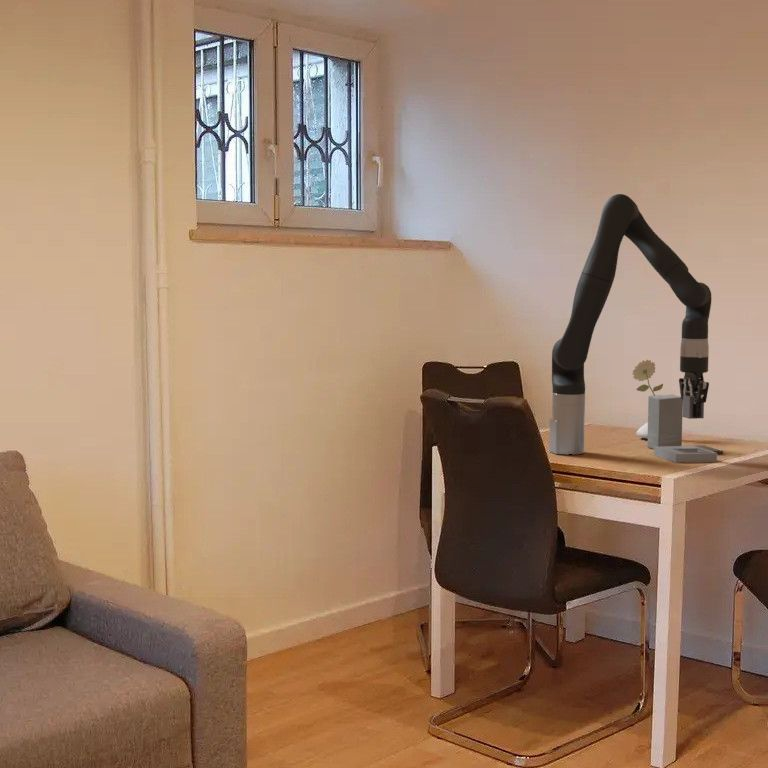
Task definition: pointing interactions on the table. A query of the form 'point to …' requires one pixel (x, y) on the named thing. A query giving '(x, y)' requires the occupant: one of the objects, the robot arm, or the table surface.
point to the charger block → (690, 407)
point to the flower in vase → (645, 387)
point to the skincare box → (664, 421)
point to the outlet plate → (685, 454)
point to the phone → (710, 449)
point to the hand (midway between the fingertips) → (692, 416)
